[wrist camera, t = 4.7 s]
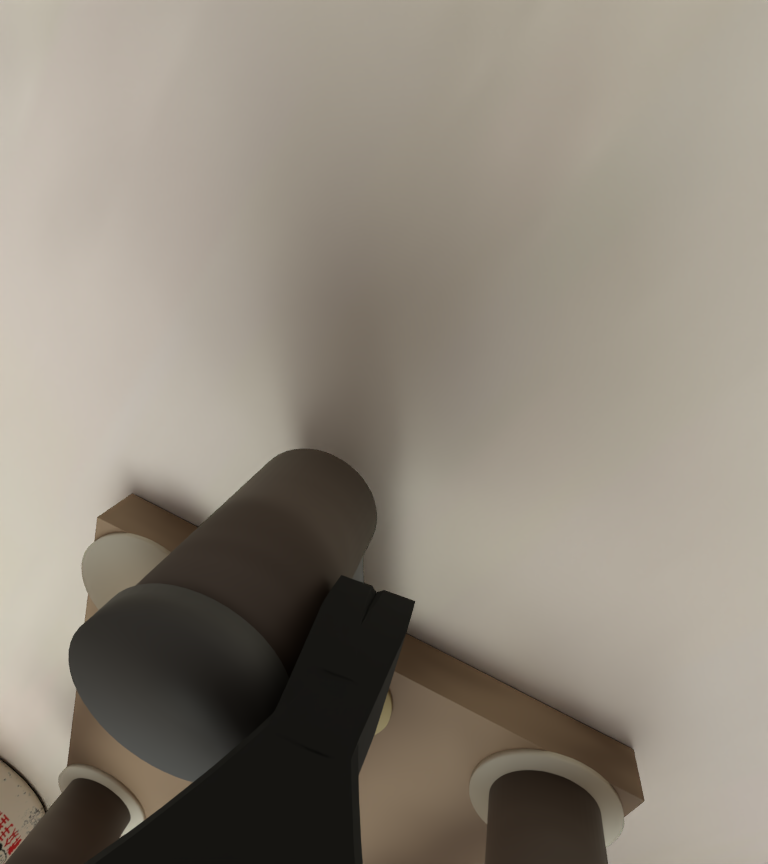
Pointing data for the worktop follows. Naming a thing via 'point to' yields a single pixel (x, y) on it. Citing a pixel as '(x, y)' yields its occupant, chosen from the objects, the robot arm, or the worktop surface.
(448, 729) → the peg board with pegs
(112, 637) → the crank handle
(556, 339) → the worktop surface
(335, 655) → the robot arm
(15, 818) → the teacup with lid
